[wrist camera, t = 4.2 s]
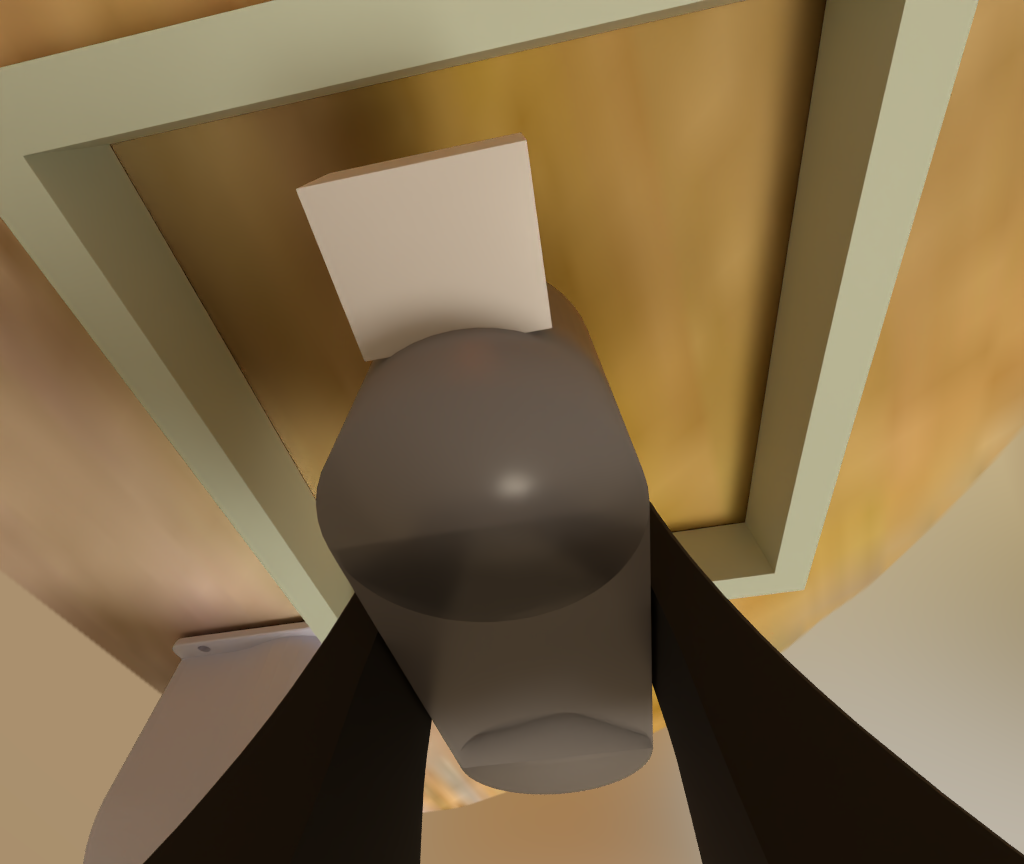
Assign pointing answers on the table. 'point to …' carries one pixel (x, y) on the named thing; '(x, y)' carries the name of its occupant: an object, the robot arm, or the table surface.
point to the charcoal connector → (486, 474)
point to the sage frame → (416, 50)
